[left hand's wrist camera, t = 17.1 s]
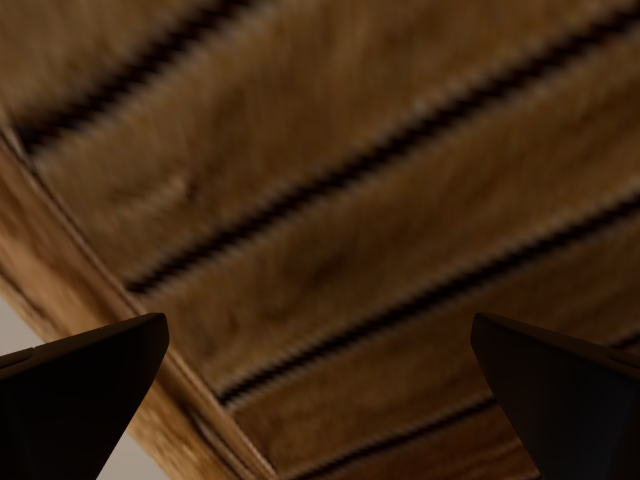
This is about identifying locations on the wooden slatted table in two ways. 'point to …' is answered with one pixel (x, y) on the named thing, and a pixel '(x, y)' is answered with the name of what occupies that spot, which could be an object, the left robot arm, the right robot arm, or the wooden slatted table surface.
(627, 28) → the wooden slatted table surface
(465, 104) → the wooden slatted table surface
